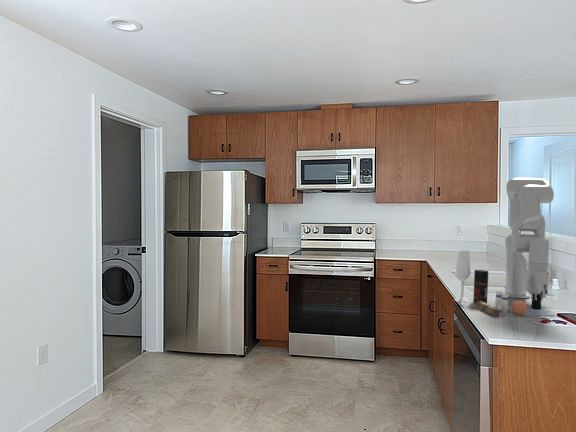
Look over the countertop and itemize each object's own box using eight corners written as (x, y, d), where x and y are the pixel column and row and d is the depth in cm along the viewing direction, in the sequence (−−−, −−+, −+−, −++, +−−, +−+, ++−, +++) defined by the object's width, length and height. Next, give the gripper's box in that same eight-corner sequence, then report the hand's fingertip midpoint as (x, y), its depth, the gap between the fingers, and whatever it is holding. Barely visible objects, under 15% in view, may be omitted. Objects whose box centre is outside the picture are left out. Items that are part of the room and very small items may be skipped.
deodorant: (475, 300, 217) (476, 269, 216) (488, 302, 213) (489, 270, 212) (471, 302, 212) (472, 270, 211) (484, 304, 208) (486, 272, 208)
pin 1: (494, 309, 198) (494, 290, 198) (499, 309, 198) (500, 290, 198) (497, 311, 196) (497, 291, 195) (502, 311, 196) (503, 291, 195)
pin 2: (500, 312, 193) (500, 293, 193) (505, 312, 193) (506, 293, 193) (503, 314, 191) (503, 294, 190) (508, 314, 191) (509, 294, 190)
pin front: (508, 311, 196) (488, 311, 196) (508, 305, 196) (489, 305, 195) (511, 313, 193) (491, 312, 193) (511, 307, 193) (492, 306, 193)
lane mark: (484, 308, 200) (484, 308, 200) (539, 309, 201) (539, 309, 201) (497, 315, 189) (497, 314, 189) (555, 315, 190) (555, 315, 190)
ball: (516, 297, 189) (520, 297, 193) (506, 307, 191) (510, 307, 195) (528, 308, 185) (532, 308, 190) (517, 318, 187) (521, 317, 192)
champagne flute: (470, 300, 217) (472, 250, 216) (467, 302, 211) (469, 251, 210) (456, 298, 221) (458, 249, 220) (452, 300, 215) (454, 250, 214)
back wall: (476, 307, 202) (476, 300, 202) (480, 307, 202) (481, 300, 202) (494, 316, 186) (494, 309, 186) (499, 316, 186) (499, 309, 186)
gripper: (519, 264, 202) (518, 305, 202) (539, 269, 187) (537, 313, 187) (536, 264, 202) (534, 305, 203) (557, 269, 187) (555, 313, 188)
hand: (536, 309), depth 195 cm, fingers closed
